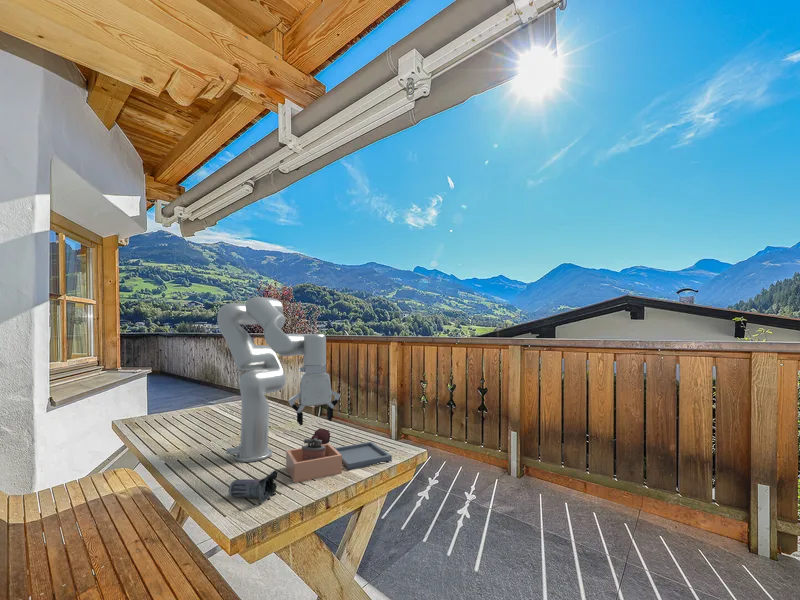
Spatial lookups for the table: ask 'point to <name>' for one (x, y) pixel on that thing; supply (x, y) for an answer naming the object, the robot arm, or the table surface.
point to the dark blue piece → (254, 488)
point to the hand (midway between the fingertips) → (315, 422)
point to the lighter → (313, 449)
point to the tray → (362, 455)
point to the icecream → (322, 435)
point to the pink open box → (313, 464)
